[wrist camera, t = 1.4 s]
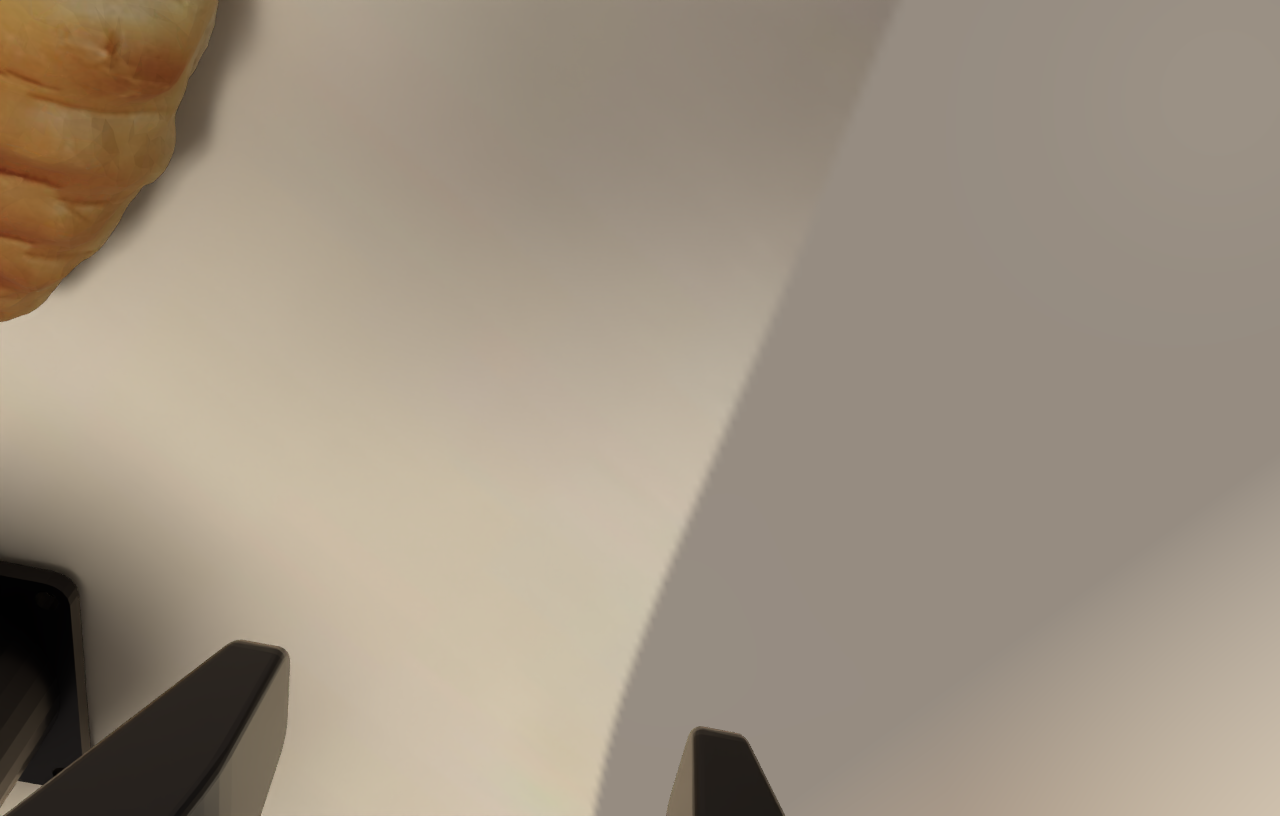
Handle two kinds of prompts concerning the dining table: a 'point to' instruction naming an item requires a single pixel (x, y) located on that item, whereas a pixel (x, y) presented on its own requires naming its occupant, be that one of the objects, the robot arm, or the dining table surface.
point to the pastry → (84, 125)
